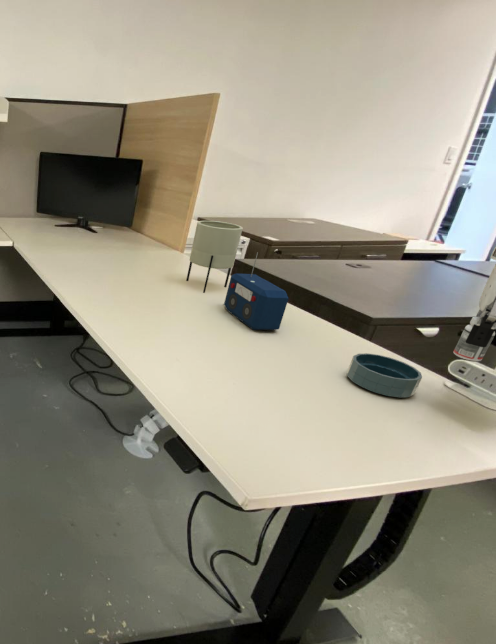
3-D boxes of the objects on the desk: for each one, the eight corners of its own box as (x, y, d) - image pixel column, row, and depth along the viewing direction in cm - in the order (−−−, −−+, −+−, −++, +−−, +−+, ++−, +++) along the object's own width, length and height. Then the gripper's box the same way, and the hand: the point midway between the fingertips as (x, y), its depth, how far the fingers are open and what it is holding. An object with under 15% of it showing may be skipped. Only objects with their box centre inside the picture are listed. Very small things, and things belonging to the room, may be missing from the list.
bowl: (427, 397, 105) (436, 378, 103) (380, 401, 102) (389, 381, 100) (376, 370, 117) (384, 352, 115) (333, 372, 114) (340, 354, 112)
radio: (219, 307, 153) (234, 247, 145) (244, 307, 154) (260, 248, 146) (252, 332, 135) (271, 265, 126) (280, 333, 136) (301, 266, 127)
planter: (236, 293, 168) (253, 229, 159) (195, 293, 166) (210, 228, 156) (215, 281, 182) (230, 221, 172) (177, 280, 179) (190, 219, 170)
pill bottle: (471, 353, 100) (490, 317, 96) (487, 363, 95) (507, 325, 92) (447, 350, 100) (465, 314, 97) (461, 359, 96) (480, 322, 93)
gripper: (552, 266, 81) (500, 359, 88) (542, 252, 92) (497, 336, 100) (495, 256, 85) (450, 346, 93) (492, 245, 97) (453, 325, 104)
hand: (475, 340), depth 96 cm, fingers closed on pill bottle, 4 cm apart
